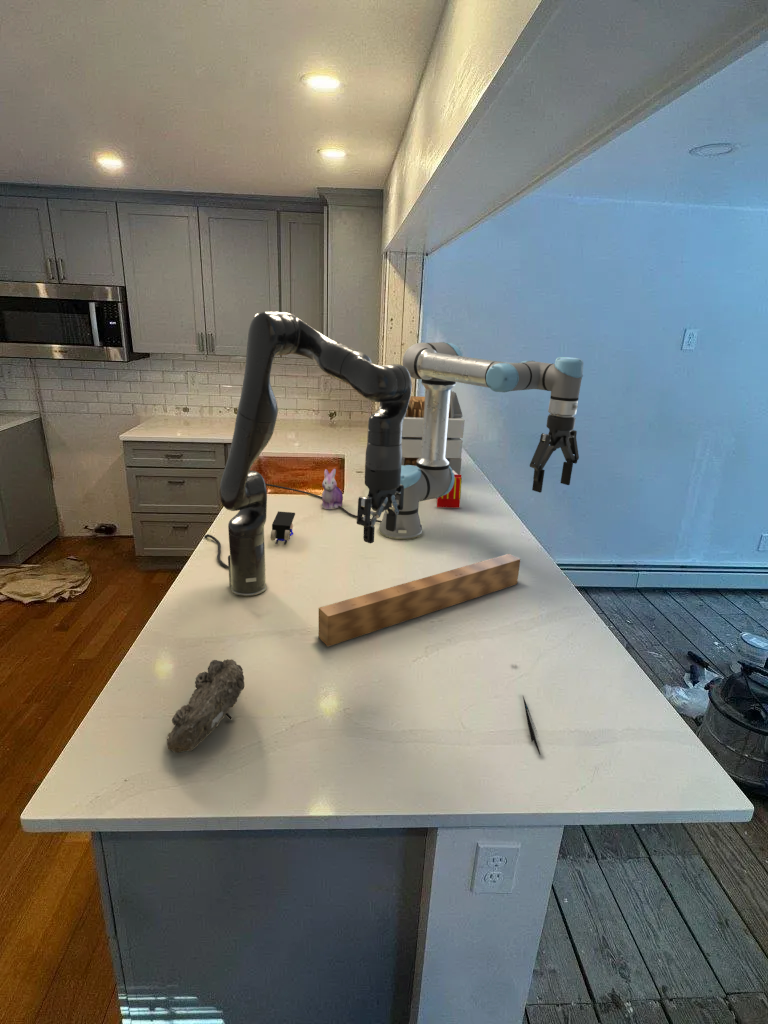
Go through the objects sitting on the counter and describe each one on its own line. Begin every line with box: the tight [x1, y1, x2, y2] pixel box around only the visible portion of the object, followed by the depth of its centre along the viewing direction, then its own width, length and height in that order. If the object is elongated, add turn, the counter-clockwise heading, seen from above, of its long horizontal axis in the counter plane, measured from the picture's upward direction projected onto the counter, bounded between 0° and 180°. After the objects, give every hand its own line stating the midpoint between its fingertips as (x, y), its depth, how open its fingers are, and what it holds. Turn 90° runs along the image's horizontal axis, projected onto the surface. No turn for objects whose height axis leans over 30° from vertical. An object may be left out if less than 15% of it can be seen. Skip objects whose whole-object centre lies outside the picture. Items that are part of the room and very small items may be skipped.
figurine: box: [321, 468, 344, 510], centre depth 222 cm, size 9×10×15 cm
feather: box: [513, 664, 541, 755], centre depth 114 cm, size 2×28×2 cm
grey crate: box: [401, 390, 465, 475], centre depth 268 cm, size 34×33×41 cm
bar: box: [318, 553, 521, 647], centre depth 150 cm, size 64×5×8 cm, turn 125°
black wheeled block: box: [270, 510, 296, 546], centre depth 190 cm, size 7×8×15 cm
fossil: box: [166, 658, 245, 754], centre depth 106 cm, size 22×10×15 cm
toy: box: [436, 470, 463, 509], centre depth 239 cm, size 12×13×30 cm
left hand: (379, 536), depth 123 cm, fingers open, 8 cm apart
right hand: (551, 487), depth 165 cm, fingers open, 13 cm apart
